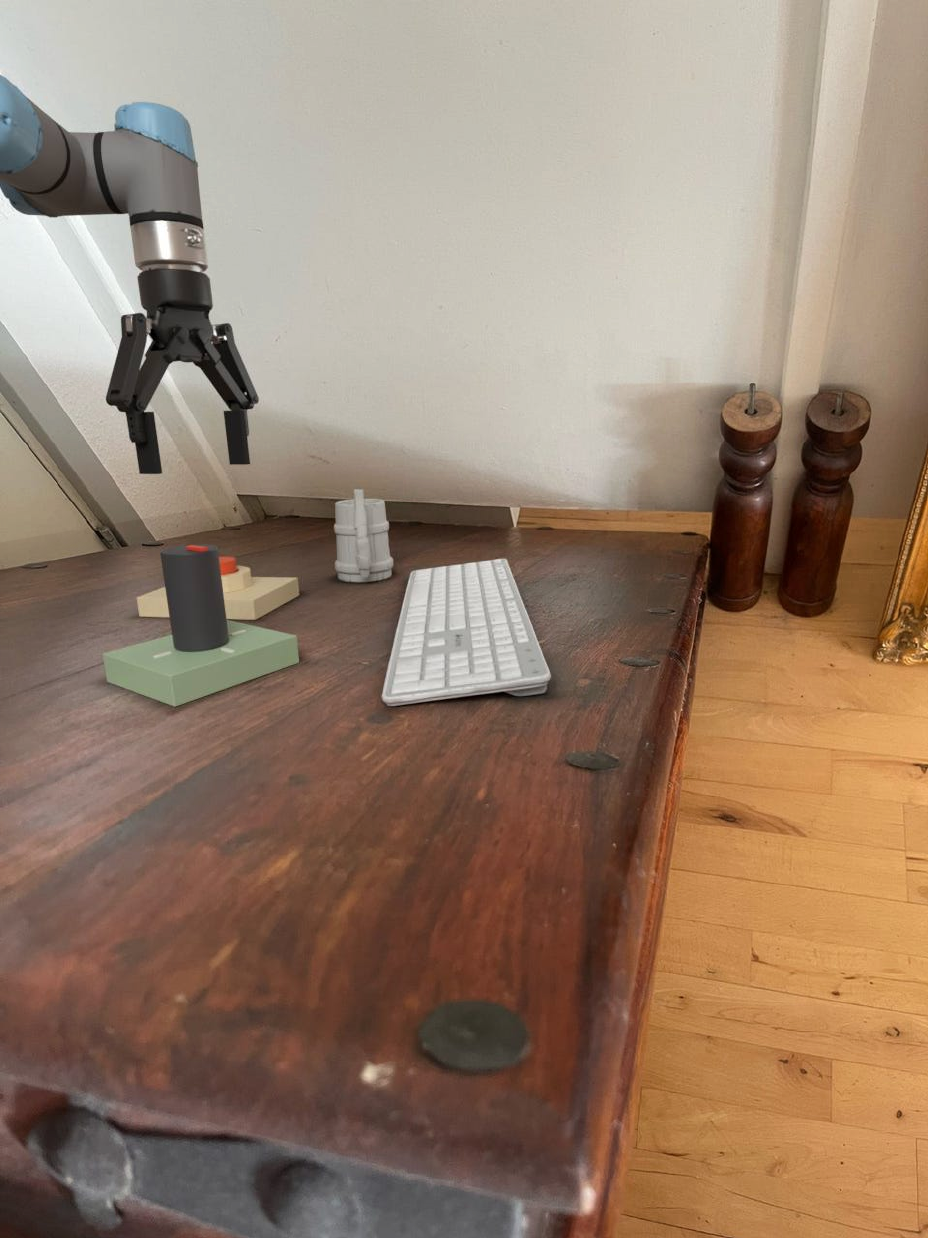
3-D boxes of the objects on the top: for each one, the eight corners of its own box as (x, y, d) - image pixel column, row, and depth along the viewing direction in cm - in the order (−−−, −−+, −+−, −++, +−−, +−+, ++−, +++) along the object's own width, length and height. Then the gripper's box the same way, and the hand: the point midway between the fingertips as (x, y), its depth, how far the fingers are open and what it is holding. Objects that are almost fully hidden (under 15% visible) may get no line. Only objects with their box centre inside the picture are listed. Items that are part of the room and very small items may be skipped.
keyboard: (410, 578, 96) (409, 560, 96) (506, 575, 96) (506, 557, 96) (380, 709, 54) (378, 678, 53) (552, 703, 54) (552, 672, 53)
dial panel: (106, 682, 61) (101, 651, 61) (230, 644, 71) (226, 617, 70) (174, 707, 55) (169, 673, 55) (299, 662, 65) (296, 633, 64)
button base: (139, 616, 82) (133, 581, 81) (194, 593, 92) (190, 561, 91) (255, 620, 79) (251, 583, 78) (299, 595, 89) (296, 562, 88)
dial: (163, 646, 62) (148, 547, 60) (209, 633, 65) (196, 539, 63) (193, 655, 59) (179, 552, 57) (239, 640, 63) (228, 543, 60)
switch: (193, 578, 83) (191, 563, 83) (212, 571, 87) (210, 556, 86) (225, 579, 82) (223, 563, 82) (243, 571, 86) (242, 556, 86)
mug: (392, 569, 102) (387, 480, 99) (397, 588, 91) (391, 489, 88) (336, 572, 102) (329, 483, 98) (334, 592, 90) (325, 492, 87)
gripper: (95, 248, 70) (130, 478, 75) (276, 283, 91) (293, 460, 96) (45, 258, 73) (82, 478, 79) (230, 289, 94) (249, 461, 100)
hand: (198, 469), depth 88 cm, fingers open, 13 cm apart
